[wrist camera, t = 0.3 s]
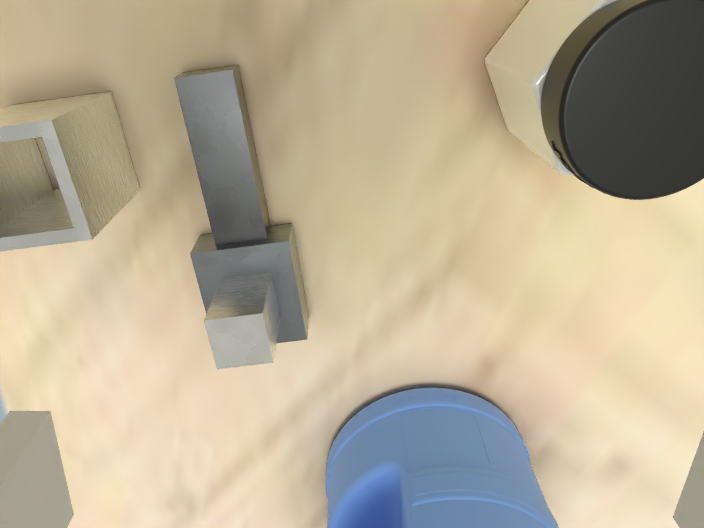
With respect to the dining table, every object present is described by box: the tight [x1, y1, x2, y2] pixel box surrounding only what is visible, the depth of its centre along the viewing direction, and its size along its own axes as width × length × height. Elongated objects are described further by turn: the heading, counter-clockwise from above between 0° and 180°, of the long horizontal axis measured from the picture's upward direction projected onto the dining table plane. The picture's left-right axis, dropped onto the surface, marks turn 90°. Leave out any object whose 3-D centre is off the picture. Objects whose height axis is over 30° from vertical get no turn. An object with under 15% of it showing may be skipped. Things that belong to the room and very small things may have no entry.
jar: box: [485, 0, 704, 200], centre depth 29 cm, size 9×8×12 cm
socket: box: [0, 92, 140, 251], centre depth 32 cm, size 6×6×8 cm
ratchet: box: [174, 65, 309, 369], centre depth 34 cm, size 17×6×8 cm, turn 7°
